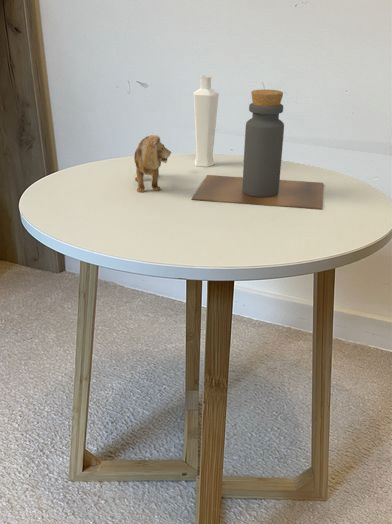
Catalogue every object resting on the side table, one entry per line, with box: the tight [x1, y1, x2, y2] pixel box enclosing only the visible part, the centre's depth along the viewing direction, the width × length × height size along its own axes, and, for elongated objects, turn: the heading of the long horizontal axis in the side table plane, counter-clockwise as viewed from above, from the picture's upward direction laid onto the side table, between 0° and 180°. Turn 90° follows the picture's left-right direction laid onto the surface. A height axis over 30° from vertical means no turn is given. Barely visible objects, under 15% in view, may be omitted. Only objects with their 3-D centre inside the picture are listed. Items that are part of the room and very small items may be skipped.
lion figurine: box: [133, 134, 172, 193], centre depth 97 cm, size 15×5×9 cm, turn 13°
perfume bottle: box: [192, 75, 220, 168], centre depth 108 cm, size 5×4×15 cm
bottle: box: [242, 89, 285, 197], centre depth 92 cm, size 6×6×15 cm
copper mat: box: [191, 174, 324, 210], centre depth 97 cm, size 20×14×1 cm
